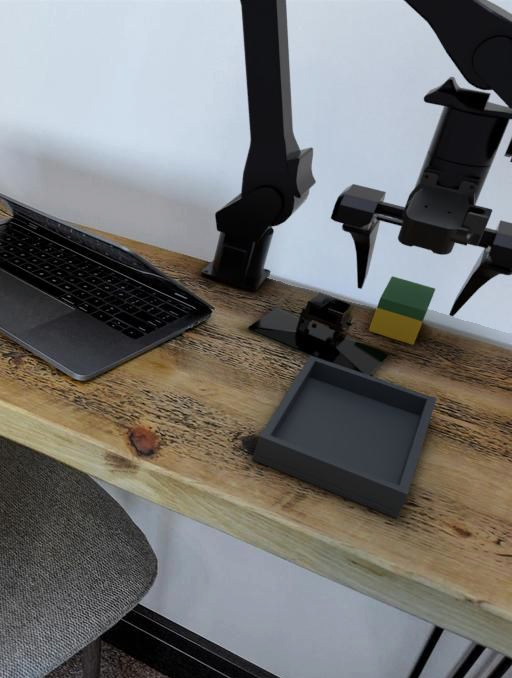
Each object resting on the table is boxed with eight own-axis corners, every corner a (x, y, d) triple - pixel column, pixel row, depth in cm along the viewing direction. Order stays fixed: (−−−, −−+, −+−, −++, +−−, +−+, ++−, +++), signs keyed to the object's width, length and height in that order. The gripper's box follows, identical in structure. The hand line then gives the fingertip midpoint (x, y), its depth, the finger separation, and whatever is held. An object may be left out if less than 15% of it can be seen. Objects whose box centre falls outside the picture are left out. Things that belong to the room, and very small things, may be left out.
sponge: (380, 308, 92) (392, 275, 90) (422, 320, 90) (435, 288, 88) (368, 331, 87) (380, 297, 85) (413, 345, 85) (426, 311, 83)
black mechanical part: (246, 331, 84) (257, 290, 82) (276, 310, 89) (287, 271, 87) (366, 380, 78) (381, 337, 75) (391, 354, 83) (406, 313, 80)
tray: (302, 376, 77) (310, 355, 76) (427, 420, 72) (436, 398, 71) (251, 460, 65) (259, 435, 64) (396, 519, 60) (408, 494, 59)
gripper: (342, 151, 77) (297, 299, 85) (568, 204, 69) (495, 361, 77) (365, 129, 85) (322, 265, 93) (569, 174, 78) (503, 318, 85)
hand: (404, 300), depth 87 cm, fingers open, 9 cm apart
